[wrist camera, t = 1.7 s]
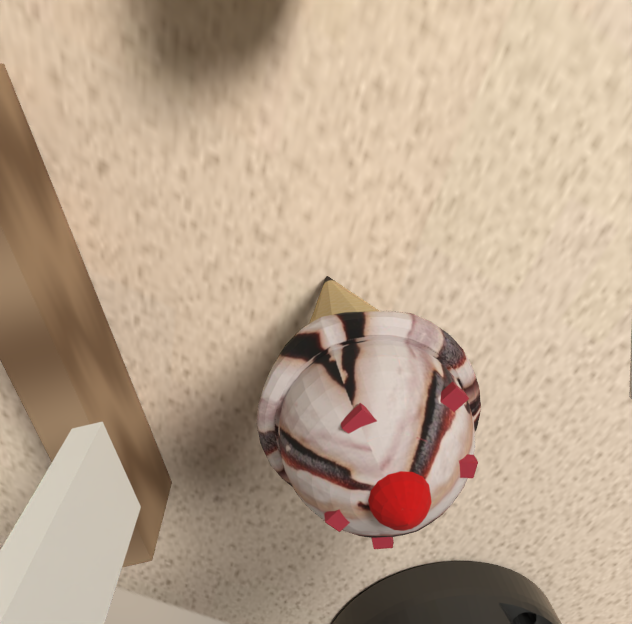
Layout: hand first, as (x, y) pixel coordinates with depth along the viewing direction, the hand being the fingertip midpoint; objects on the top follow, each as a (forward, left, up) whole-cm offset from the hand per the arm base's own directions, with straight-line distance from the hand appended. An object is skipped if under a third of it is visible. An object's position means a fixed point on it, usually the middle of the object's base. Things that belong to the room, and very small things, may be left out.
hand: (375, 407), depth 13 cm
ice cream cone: (0, 0, -12) cm, 12 cm away
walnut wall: (+1, +11, -12) cm, 16 cm away
